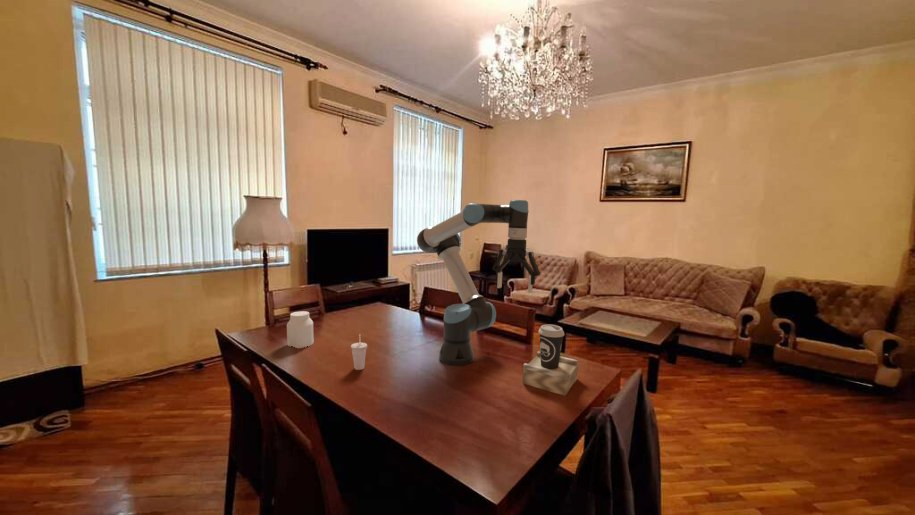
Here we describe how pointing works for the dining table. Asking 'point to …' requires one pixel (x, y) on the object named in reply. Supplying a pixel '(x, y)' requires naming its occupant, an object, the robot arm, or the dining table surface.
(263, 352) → the dining table surface
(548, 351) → the coffee cup
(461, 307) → the robot arm
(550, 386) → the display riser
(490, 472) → the dining table surface
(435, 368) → the dining table surface
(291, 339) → the jar
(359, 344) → the smoothie
